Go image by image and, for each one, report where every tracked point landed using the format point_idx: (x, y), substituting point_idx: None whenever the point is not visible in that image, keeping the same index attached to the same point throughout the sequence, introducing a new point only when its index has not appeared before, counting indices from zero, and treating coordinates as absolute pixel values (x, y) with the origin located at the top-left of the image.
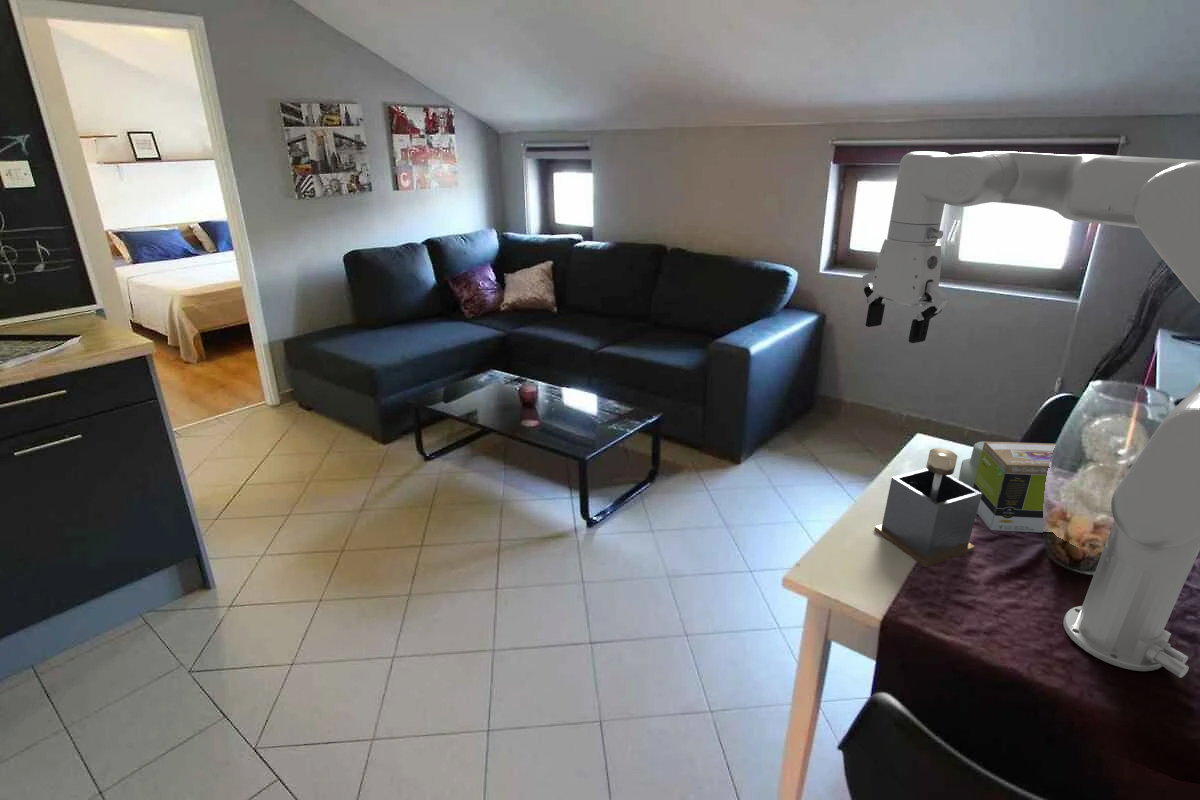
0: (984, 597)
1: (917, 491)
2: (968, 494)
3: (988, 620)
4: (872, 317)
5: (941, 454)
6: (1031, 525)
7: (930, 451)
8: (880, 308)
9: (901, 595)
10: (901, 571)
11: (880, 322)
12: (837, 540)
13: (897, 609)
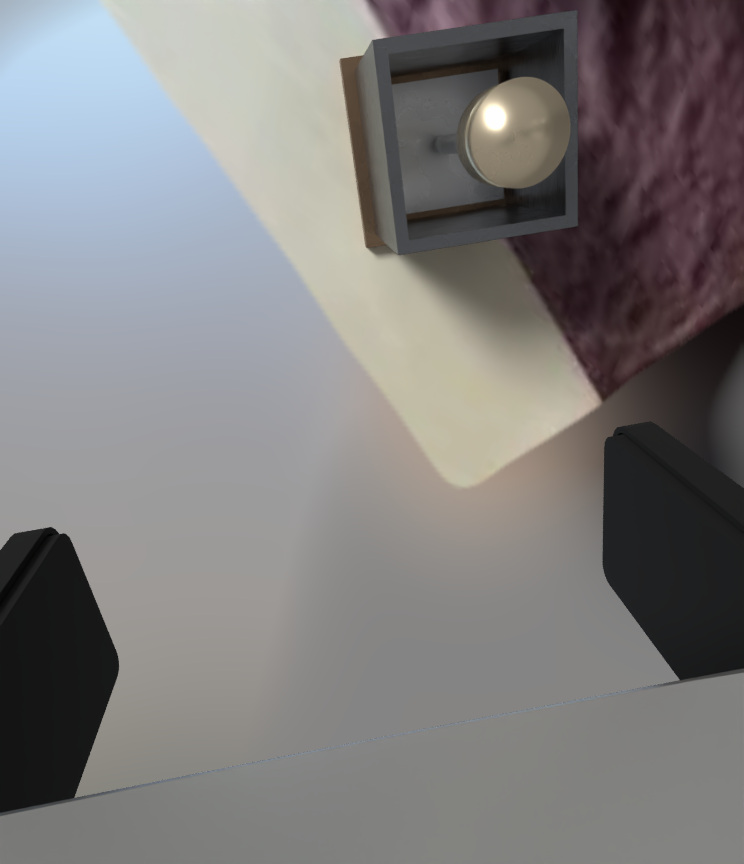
0: (647, 162)
1: (492, 231)
2: (565, 71)
3: (695, 212)
4: (80, 719)
5: (520, 144)
6: None
7: (487, 171)
8: (1, 733)
9: (573, 334)
10: (514, 284)
11: (61, 561)
12: (376, 357)
13: (599, 366)
